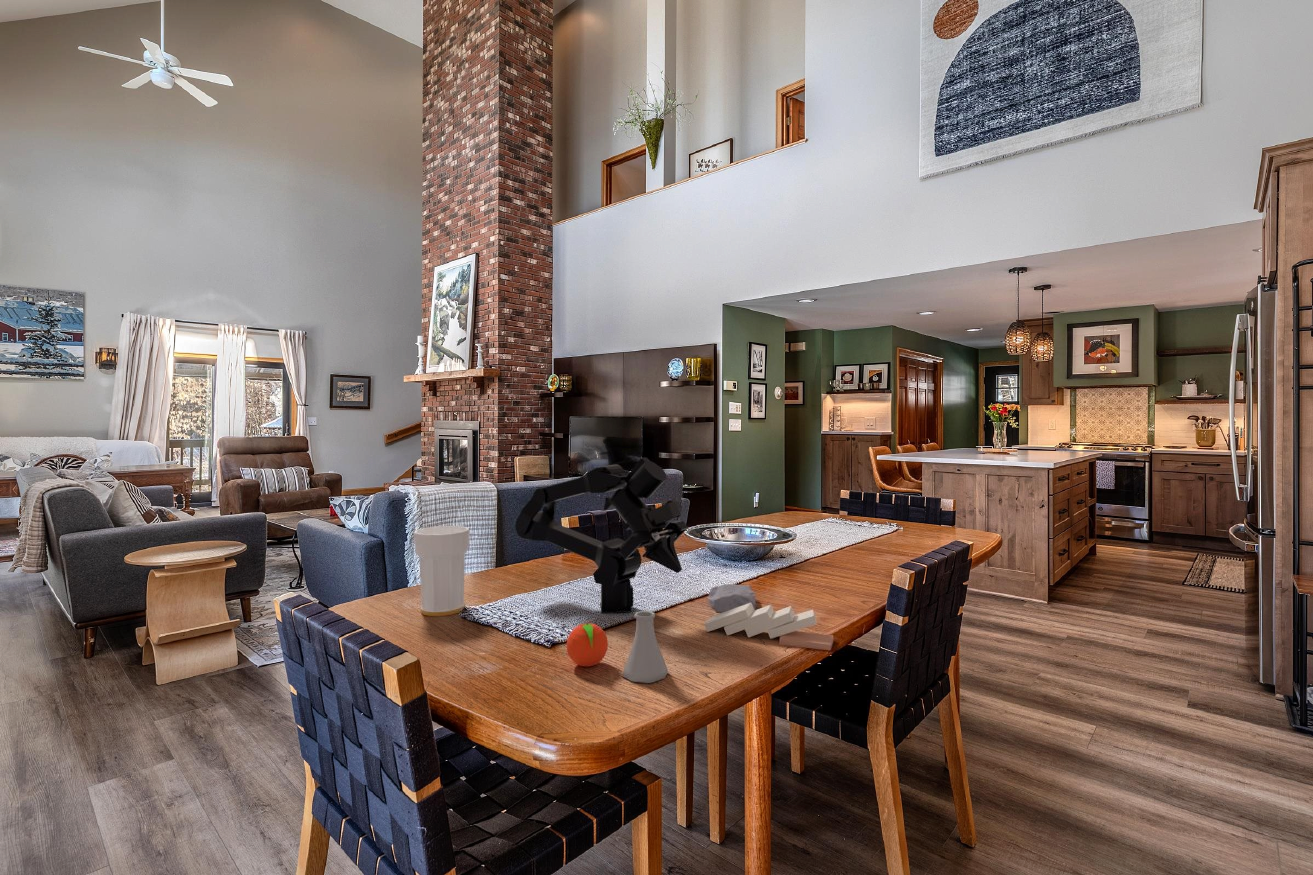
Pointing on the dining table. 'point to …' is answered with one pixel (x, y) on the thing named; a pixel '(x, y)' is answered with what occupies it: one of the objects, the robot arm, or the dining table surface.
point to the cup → (442, 568)
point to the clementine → (587, 644)
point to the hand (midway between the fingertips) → (679, 571)
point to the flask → (645, 652)
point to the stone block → (731, 597)
